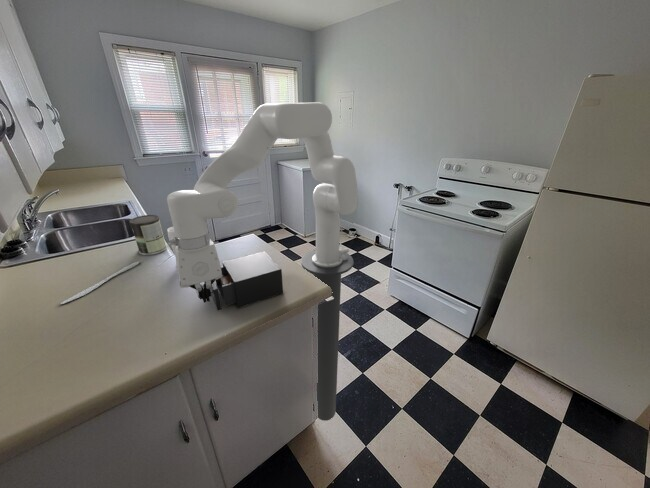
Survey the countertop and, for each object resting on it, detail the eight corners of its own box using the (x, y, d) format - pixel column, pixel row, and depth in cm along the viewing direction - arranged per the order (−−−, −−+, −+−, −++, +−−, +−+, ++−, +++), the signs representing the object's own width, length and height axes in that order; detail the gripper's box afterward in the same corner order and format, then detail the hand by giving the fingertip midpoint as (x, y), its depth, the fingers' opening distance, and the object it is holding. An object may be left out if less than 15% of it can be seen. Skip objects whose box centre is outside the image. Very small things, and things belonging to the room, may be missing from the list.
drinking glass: (187, 258, 109) (178, 223, 102) (199, 262, 106) (191, 226, 100) (172, 266, 103) (162, 229, 97) (184, 270, 100) (175, 233, 94)
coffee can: (135, 256, 110) (124, 224, 104) (144, 245, 119) (135, 215, 113) (162, 254, 112) (153, 222, 106) (170, 243, 121) (162, 214, 115)
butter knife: (142, 262, 104) (135, 260, 105) (65, 304, 81) (57, 302, 81) (142, 263, 105) (136, 262, 105) (66, 306, 81) (58, 304, 82)
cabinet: (238, 308, 81) (234, 282, 77) (226, 284, 92) (222, 261, 88) (283, 293, 88) (281, 268, 84) (266, 273, 99) (264, 251, 95)
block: (236, 285, 88) (234, 273, 86) (239, 291, 85) (238, 280, 83) (222, 289, 86) (220, 277, 84) (225, 296, 83) (223, 284, 81)
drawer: (203, 315, 76) (198, 294, 73) (195, 292, 86) (190, 272, 83) (262, 296, 85) (260, 276, 81) (248, 277, 95) (246, 258, 92)
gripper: (160, 252, 62) (178, 316, 69) (227, 239, 69) (236, 298, 77) (158, 241, 68) (175, 301, 75) (220, 229, 75) (229, 285, 83)
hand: (205, 299), depth 76 cm, fingers closed
